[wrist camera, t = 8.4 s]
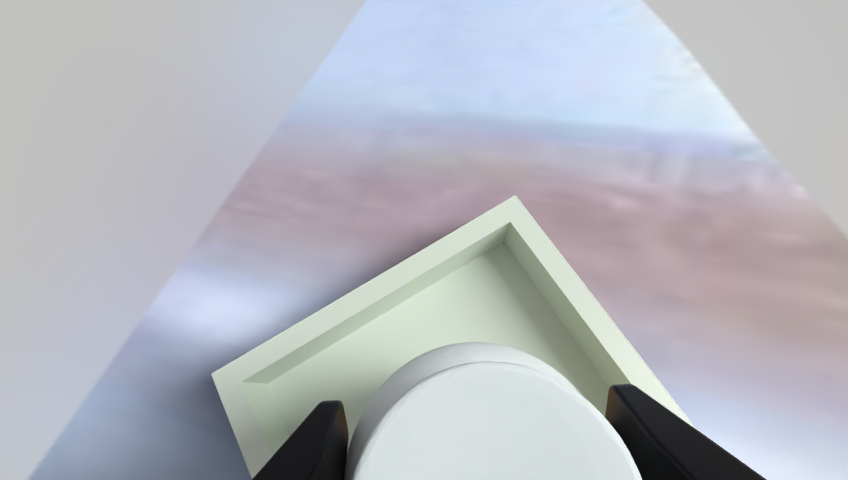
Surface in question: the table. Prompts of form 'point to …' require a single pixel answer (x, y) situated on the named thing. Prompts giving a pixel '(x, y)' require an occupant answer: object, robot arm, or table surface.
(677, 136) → the table surface
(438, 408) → the supplement bottle
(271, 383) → the tray
